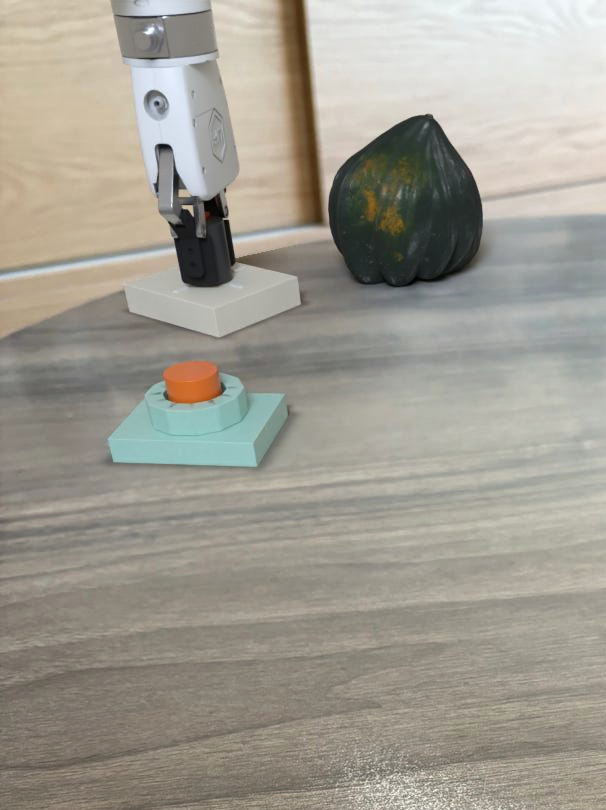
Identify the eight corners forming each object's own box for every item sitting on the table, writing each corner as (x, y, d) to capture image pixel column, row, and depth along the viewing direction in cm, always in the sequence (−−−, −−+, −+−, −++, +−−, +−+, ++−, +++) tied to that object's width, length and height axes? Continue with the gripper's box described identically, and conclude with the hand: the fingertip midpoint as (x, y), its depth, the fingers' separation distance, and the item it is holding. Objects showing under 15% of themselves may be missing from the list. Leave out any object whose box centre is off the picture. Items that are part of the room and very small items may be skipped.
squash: (275, 229, 96) (361, 99, 87) (351, 197, 107) (435, 79, 98) (382, 342, 98) (478, 227, 88) (446, 299, 109) (537, 193, 100)
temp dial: (225, 286, 91) (214, 224, 87) (181, 286, 91) (169, 223, 88) (238, 272, 94) (228, 211, 91) (195, 272, 94) (184, 211, 91)
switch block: (114, 468, 70) (100, 413, 67) (157, 418, 76) (145, 366, 74) (258, 473, 69) (248, 417, 66) (289, 421, 75) (281, 369, 73)
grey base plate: (130, 316, 94) (122, 281, 92) (213, 286, 100) (207, 253, 98) (219, 343, 88) (213, 306, 86) (301, 309, 94) (297, 274, 92)
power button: (160, 405, 69) (155, 380, 68) (179, 384, 72) (174, 359, 71) (212, 407, 68) (207, 382, 67) (229, 385, 71) (224, 361, 70)
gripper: (176, 54, 74) (221, 306, 85) (245, 25, 87) (276, 247, 98) (77, 55, 75) (134, 305, 86) (160, 26, 88) (200, 246, 99)
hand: (209, 272), depth 92 cm, fingers closed on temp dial, 4 cm apart
